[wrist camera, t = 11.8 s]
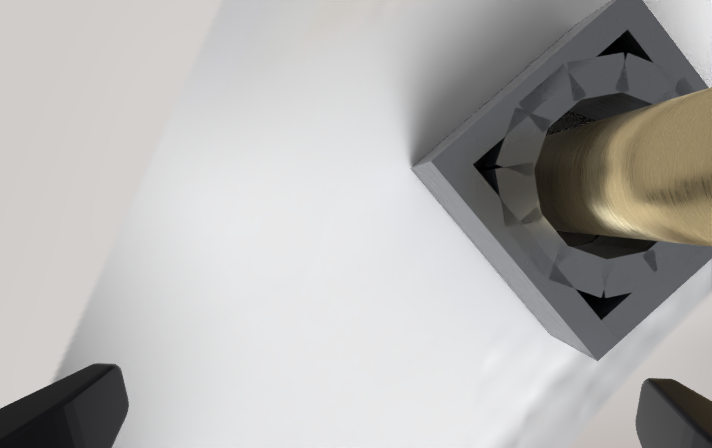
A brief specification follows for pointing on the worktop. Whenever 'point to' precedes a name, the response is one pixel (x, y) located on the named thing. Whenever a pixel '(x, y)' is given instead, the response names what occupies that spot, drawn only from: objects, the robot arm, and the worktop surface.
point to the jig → (519, 191)
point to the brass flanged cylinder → (633, 174)
